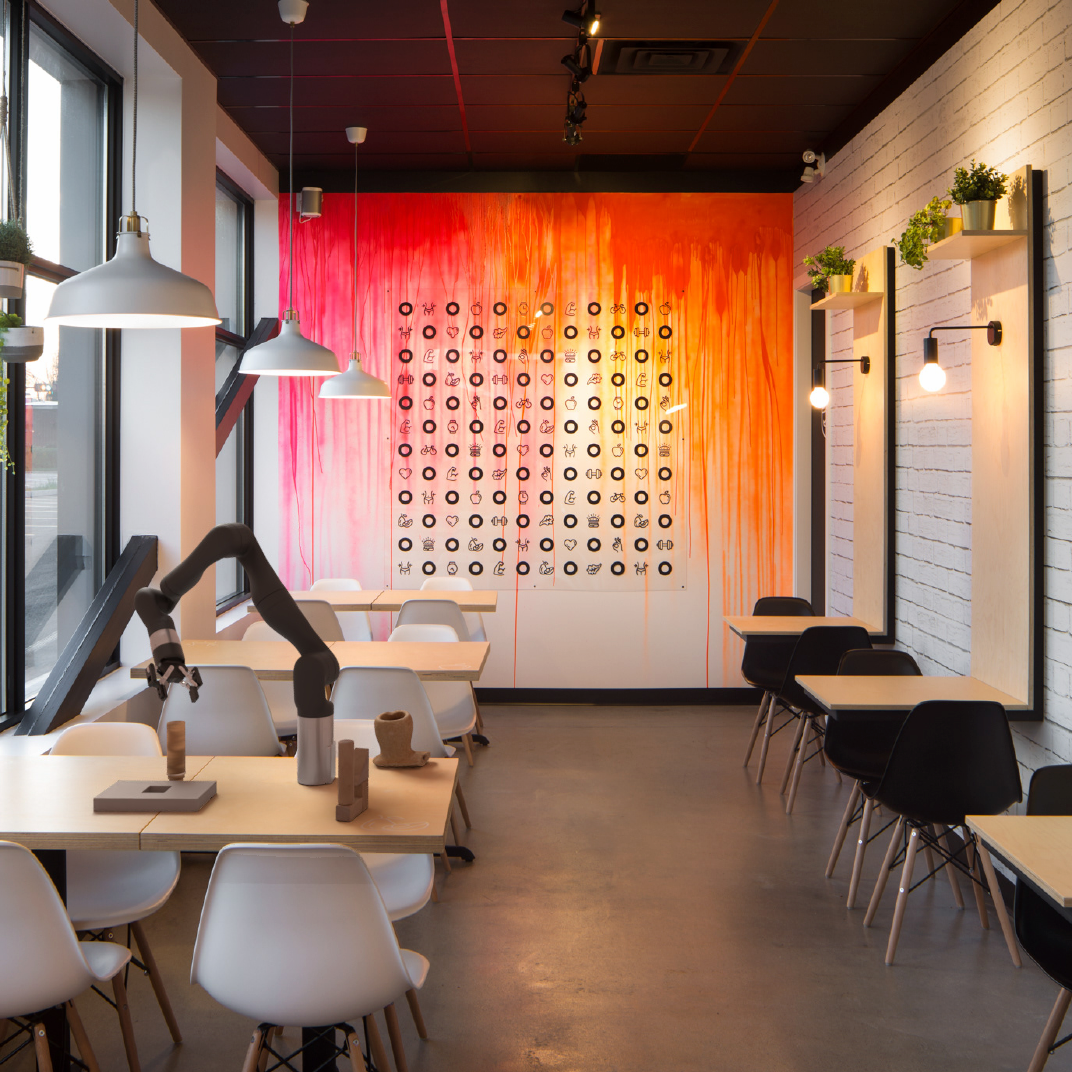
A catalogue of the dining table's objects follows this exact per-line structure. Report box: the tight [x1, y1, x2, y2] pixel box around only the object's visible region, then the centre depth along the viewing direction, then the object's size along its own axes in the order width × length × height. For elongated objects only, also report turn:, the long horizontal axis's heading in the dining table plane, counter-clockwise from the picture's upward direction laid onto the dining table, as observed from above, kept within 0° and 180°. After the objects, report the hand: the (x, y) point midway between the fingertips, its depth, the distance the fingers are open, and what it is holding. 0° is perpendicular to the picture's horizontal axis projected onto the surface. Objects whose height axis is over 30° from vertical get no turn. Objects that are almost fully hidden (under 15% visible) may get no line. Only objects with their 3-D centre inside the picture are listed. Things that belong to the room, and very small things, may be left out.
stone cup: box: [372, 709, 432, 767], centre depth 264 cm, size 15×12×15 cm
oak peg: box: [166, 720, 187, 781], centre depth 244 cm, size 5×5×16 cm
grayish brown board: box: [92, 779, 218, 813], centre depth 231 cm, size 24×14×3 cm, turn 91°
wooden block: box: [335, 738, 370, 823], centre depth 223 cm, size 4×11×18 cm, turn 167°
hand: (180, 700), depth 249 cm, fingers open, 8 cm apart
